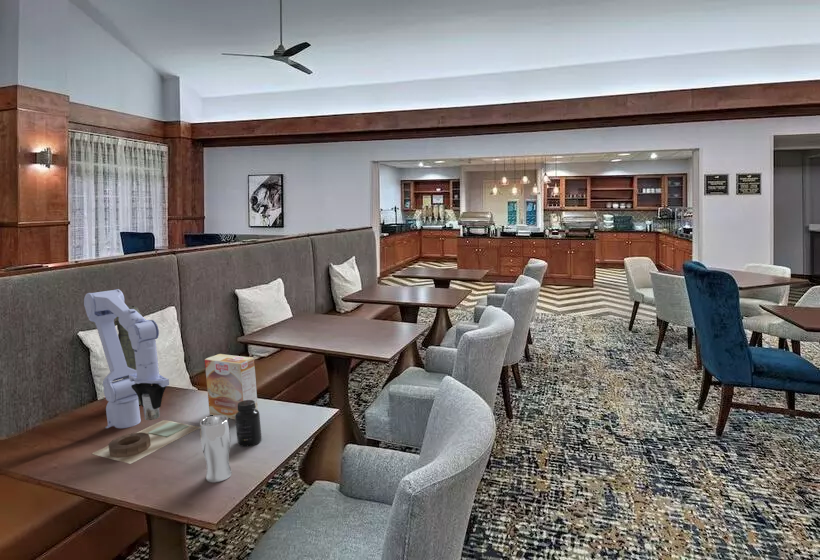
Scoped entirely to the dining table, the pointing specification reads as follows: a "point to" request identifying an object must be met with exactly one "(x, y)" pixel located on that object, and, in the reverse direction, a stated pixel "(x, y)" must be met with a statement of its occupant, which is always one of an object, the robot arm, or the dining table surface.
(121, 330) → the thermos
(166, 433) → the board
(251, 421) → the supplement bottle
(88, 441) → the dining table surface
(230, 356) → the coffeecake box
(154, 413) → the pin
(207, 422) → the beer glass
